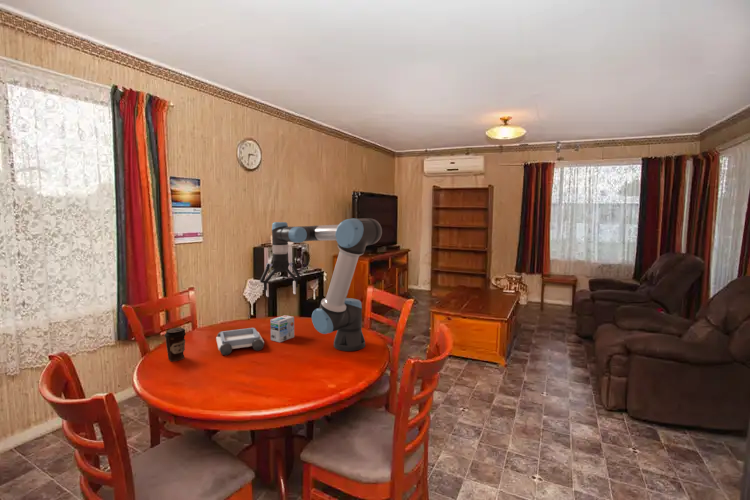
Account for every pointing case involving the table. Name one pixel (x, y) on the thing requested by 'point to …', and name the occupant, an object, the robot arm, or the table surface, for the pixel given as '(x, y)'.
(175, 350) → the coffee cup
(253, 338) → the chassis
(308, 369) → the table surface
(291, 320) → the light bulb box
